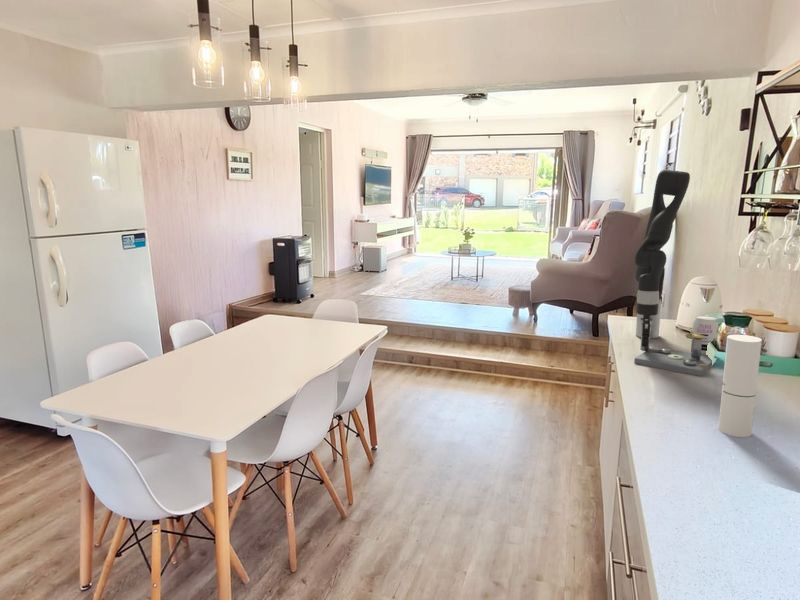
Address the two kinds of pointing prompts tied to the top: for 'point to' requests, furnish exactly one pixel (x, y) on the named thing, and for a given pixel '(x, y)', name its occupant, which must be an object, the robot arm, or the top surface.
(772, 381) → the top surface
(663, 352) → the crank
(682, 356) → the board
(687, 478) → the top surface
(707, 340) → the supplement can
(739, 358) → the cylindrical container
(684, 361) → the crank
